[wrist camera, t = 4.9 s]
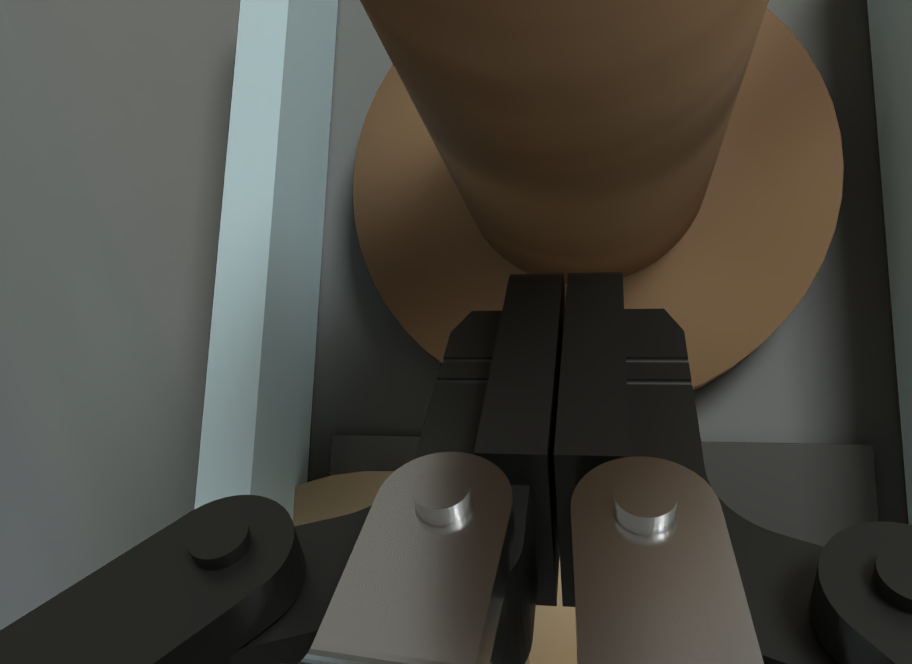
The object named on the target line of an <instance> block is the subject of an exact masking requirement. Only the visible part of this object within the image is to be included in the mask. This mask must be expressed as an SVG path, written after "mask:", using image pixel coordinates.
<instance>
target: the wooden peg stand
mask: <svg viewBox="0 0 912 664" xmlns="http://www.w3.org/2000/svg"><path fill="white" fill-rule="evenodd" d="M360 1H361V3H362V5H363V7H364V9H365V11H366V13H367V15H368V17H369V18H370V20H371V22H372V24H373V26H374V28H375V30H376V32H377V34H378V36H379V38H380V40H381V42H382V44H383V45H384V47H385V49H386V51H387V53H388V55H389V57H390V59H391V61H392V63H393V65H392V67H391V68H390V70H389V72H388V73H387V75H386V77H385V78H384V80H383V82H382V84H381V85H380V87H379V89H378V90H377V93H376V95H375V97H374V100H373V102H372V104H371V106H370V109H369V111H368V113H367V115H366V119H365V122H364V125H363V129H362V132H361V135H360V138H359V142H358V147H357V153H356V159H355V165H354V176H353V206H354V216H355V226H356V230H357V235H358V239H359V243H360V247H361V251H362V255H363V257H364V260H365V263H366V265H367V268H368V270H369V273H370V275H371V278H372V281H373V282H374V284H375V286H376V288H377V290H378V291H379V293H380V295H381V297H382V298H383V300H384V302H385V304H386V306H387V307H388V308H389V310H390V311H391V312H392V314H393V315H394V316H395V318H396V319H397V320H398V322H399V323H400V324H401V326H402V327H403V328H404V329H405V330H406V331H407V332H408V333H409V334H410V335H411V336H412V337H413V338H414V339H415V341H416V342H417V343H418V344H419V345H420V346H421V347H422V348H423V349H424V350H425V351H427V352H428V353H429V354H431V355H432V356H433V357H435V358H436V359H437V360H439V361H440V362H441V363H442V362H443V357H444V353H445V350H446V346H447V343H448V339H449V336H450V333H451V331H452V330H453V329H454V328H455V327H456V326H457V325H458V324H459V323H460V322H461V321H462V320H463V319H464V318H465V317H466V316H467V315H468V314H469V313H470V312H471V311H501V310H502V309H503V304H504V299H505V294H506V289H507V284H508V279H509V276H510V275H511V274H556V273H563V274H564V279H565V296H566V290H567V277H568V273H595V272H623V293H624V309H661V308H664V309H665V310H666V311H667V312H668V313H669V315H670V316H671V317H672V318H673V319H674V320H675V321H676V322H677V323H678V325H679V326H680V327H681V328H682V329H683V330H684V333H685V340H686V346H687V353H688V363H689V366H690V373H691V384H692V386H693V391H695V390H698V389H700V388H701V387H703V386H705V385H706V384H708V383H710V382H712V381H713V380H715V379H717V378H718V377H720V376H722V375H723V374H725V373H727V372H728V371H729V370H731V369H732V368H733V367H734V366H736V365H737V364H738V363H740V362H741V361H742V360H743V359H745V358H746V357H747V356H749V355H750V354H751V353H752V352H753V351H754V350H756V349H757V348H758V347H759V346H760V345H761V344H762V343H763V342H764V341H765V340H766V339H767V338H768V337H769V336H770V335H771V334H772V333H773V332H774V331H775V330H776V329H777V328H778V327H779V326H780V325H781V324H782V323H783V322H784V321H785V320H786V319H787V318H788V316H789V315H790V314H791V312H792V311H793V310H794V308H795V307H796V306H797V304H798V303H799V301H800V300H801V299H802V297H803V296H804V295H805V293H806V292H807V291H808V289H809V287H810V285H811V284H812V282H813V280H814V278H815V276H816V274H817V272H818V271H819V269H820V267H821V265H822V263H823V261H824V259H825V256H826V254H827V251H828V248H829V245H830V243H831V240H832V237H833V234H834V232H835V229H836V224H837V219H838V214H839V209H840V205H841V200H842V188H843V170H844V163H843V152H842V142H841V133H840V129H839V125H838V121H837V117H836V113H835V109H834V105H833V102H832V100H831V97H830V95H829V93H828V90H827V88H826V85H825V83H824V81H823V78H822V76H821V74H820V72H819V71H818V69H817V67H816V66H815V64H814V62H813V61H812V59H811V57H810V56H809V54H808V52H807V51H806V49H805V48H804V47H803V45H802V44H801V43H800V42H799V41H798V39H797V38H796V37H795V36H794V34H793V33H792V32H791V31H790V30H789V28H788V27H787V26H786V25H785V24H784V23H783V22H782V21H781V20H780V19H779V18H778V17H776V16H775V15H774V14H773V13H772V12H771V11H770V10H769V9H768V8H767V5H768V2H769V0H360Z"/></svg>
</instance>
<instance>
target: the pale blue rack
mask: <svg viewBox="0 0 912 664" xmlns="http://www.w3.org/2000/svg"><path fill="white" fill-rule="evenodd" d="M867 7H868V20H869V33H870V45H871V58H872V70H873V83H874V95H875V108H876V120H877V133H878V146H879V158H880V171H881V183H882V196H883V208H884V221H885V233H886V246H887V258H888V271H889V284H890V296H891V309H892V321H893V334H894V346H895V359H896V371H897V384H898V396H899V409H900V422H901V434H902V447H903V459H904V472H905V484H906V497H907V509H908V522H909V525H912V0H867ZM337 10H338V0H241V3H240V14H239V25H238V36H237V47H236V58H235V69H234V80H233V91H232V102H231V113H230V124H229V135H228V146H227V157H226V168H225V179H224V190H223V201H222V212H221V223H220V234H219V245H218V256H217V267H216V278H215V289H214V300H213V311H212V322H211V333H210V344H209V355H208V366H207V377H206V388H205V399H204V410H203V421H202V432H201V443H200V454H199V465H198V476H197V487H196V498H195V509H197V508H198V507H200V506H202V505H205V504H207V503H209V502H212V501H214V500H218V499H221V498H224V497H230V496H235V495H258V496H262V497H266V498H269V499H272V500H274V501H276V502H278V503H279V504H280V505H282V506H283V507H284V508H285V509H286V510H287V512H288V513H289V514H290V516H291V519H292V521H293V509H294V494H295V486H297V485H300V484H303V483H306V482H307V476H308V460H309V445H310V429H311V414H312V398H313V383H314V367H315V352H316V336H317V321H318V305H319V290H320V274H321V259H322V243H323V228H324V212H325V197H326V181H327V165H328V150H329V134H330V119H331V103H332V88H333V72H334V57H335V41H336V26H337ZM419 439H420V436H373V435H332V440H331V457H330V474H329V476H332V475H339V474H347V473H354V472H361V471H395V470H397V469H398V468H400V467H401V466H403V465H404V464H406V463H408V462H410V461H412V460H414V457H415V453H416V450H417V446H418V443H419ZM701 446H702V452H703V459H704V466H705V471H706V475H707V479H708V481H709V483H710V485H711V487H712V489H713V490H714V491H715V493H716V494H717V495H718V497H719V498H720V499H721V500H722V501H723V502H724V503H725V504H726V505H727V506H728V507H729V508H730V509H732V510H733V511H734V512H736V513H737V514H738V515H740V516H741V517H743V518H745V519H746V520H748V521H750V522H751V523H753V524H756V525H758V526H760V527H762V528H764V529H767V530H770V531H773V532H776V533H779V534H782V535H785V536H789V537H792V538H796V539H799V540H803V541H806V542H809V543H813V544H816V545H820V546H823V547H824V546H825V545H826V543H827V542H828V541H829V539H830V538H832V537H833V536H834V535H835V534H837V533H838V532H840V531H842V530H844V529H846V528H848V527H850V526H854V525H857V524H861V523H868V522H879V516H878V503H877V489H876V475H875V461H874V447H873V445H854V444H801V443H747V442H701ZM195 509H194V510H195Z"/></svg>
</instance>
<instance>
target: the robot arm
mask: <svg viewBox="0 0 912 664" xmlns="http://www.w3.org/2000/svg"><path fill="white" fill-rule="evenodd" d="M559 558H560V570H561V587H562V604H563V606H564V607H575V616H576V639H577V664H912V525H909V524H905V523H897V522H868V523H861V524H857V525H854V526H850V527H848V528H846V529H844V530H842V531H840V532H838V533H837V534H835V535H834V536H833V537H832V538H830V539H829V541H828V542H827V543H826V545H825V546H824V547H823V546H820V545H816V544H813V543H809V542H806V541H803V540H799V539H796V538H792V537H789V536H785V535H782V534H779V533H776V532H773V531H770V530H767V529H764V528H762V527H760V526H758V525H756V524H753V523H751V522H750V521H748V520H746V519H745V518H743V517H741V516H740V515H738V514H737V513H736V512H734V511H733V510H732V509H730V508H729V507H728V506H727V505H726V504H725V503H724V502H723V501H722V500H721V499H720V498H719V497H718V495H717V494H716V493H715V491H714V490H713V489H712V487H711V485H710V483H709V481H708V479H707V475H706V471H705V466H704V459H703V452H702V446H701V439H700V433H699V426H698V419H697V413H696V406H695V399H694V393H693V386H692V384H691V373H690V366H689V363H688V353H687V346H686V340H685V333H684V330H683V329H682V328H681V327H680V326H679V325H678V323H677V322H676V321H675V320H674V319H673V318H672V317H671V316H670V315H669V313H668V312H667V311H666V310H665V309H664V308H661V309H624V293H623V272H595V273H568V277H567V290H566V296H565V279H564V274H563V273H556V274H511V275H510V276H509V279H508V284H507V289H506V294H505V299H504V304H503V309H502V310H501V311H471V312H470V313H469V314H468V315H467V316H466V317H465V318H464V319H463V320H462V321H461V322H460V323H459V324H458V325H457V326H456V327H455V328H454V329H453V330H452V331H451V333H450V336H449V339H448V343H447V346H446V350H445V353H444V357H443V362H442V364H441V367H440V371H439V374H438V377H437V383H436V384H435V388H434V391H433V395H432V398H431V402H430V405H429V408H428V412H427V415H426V419H425V422H424V426H423V429H422V433H421V436H420V439H419V443H418V446H417V450H416V453H415V457H414V460H412V461H410V462H408V463H406V464H404V465H403V466H401V467H400V468H398V469H397V470H395V471H394V472H393V473H392V474H391V475H390V476H389V477H388V478H387V479H386V480H385V481H384V483H383V484H382V485H381V487H380V489H379V491H378V493H377V495H376V497H375V499H374V502H373V504H372V505H371V506H369V507H367V508H365V509H362V510H360V511H357V512H354V513H351V514H347V515H343V516H339V517H335V518H330V519H326V520H321V521H317V522H312V523H308V524H303V525H299V526H294V523H293V521H292V519H291V516H290V514H289V513H288V512H287V510H286V509H285V508H284V507H283V506H282V505H280V504H279V503H278V502H276V501H274V500H272V499H269V498H266V497H262V496H258V495H235V496H230V497H224V498H221V499H218V500H214V501H212V502H209V503H207V504H205V505H202V506H200V507H198V508H197V509H195V510H193V511H191V512H189V513H188V514H186V515H185V516H183V517H181V518H180V519H178V520H177V521H175V522H173V523H172V524H170V525H169V526H167V527H165V528H164V529H162V530H161V531H159V532H157V533H156V534H154V535H153V536H151V537H149V538H148V539H146V540H145V541H143V542H141V543H140V544H138V545H137V546H135V547H133V548H132V549H130V550H129V551H127V552H125V553H124V554H122V555H121V556H119V557H117V558H116V559H114V560H113V561H111V562H109V563H108V564H106V565H105V566H103V567H101V568H100V569H98V570H97V571H95V572H93V573H92V574H90V575H89V576H87V577H85V578H84V579H82V580H81V581H79V582H77V583H76V584H74V585H73V586H71V587H69V588H68V589H66V590H65V591H63V592H61V593H60V594H58V595H57V596H55V597H53V598H52V599H50V600H49V601H47V602H45V603H44V604H42V605H41V606H39V607H37V608H36V609H34V610H33V611H31V612H29V613H28V614H26V615H25V616H23V617H21V618H20V619H18V620H17V621H15V622H13V623H12V624H10V625H9V626H7V627H5V628H4V629H2V630H1V631H0V664H530V660H529V654H530V651H531V647H532V642H533V632H534V620H535V608H536V605H542V606H557V592H558V575H559Z"/></svg>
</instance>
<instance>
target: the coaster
mask: <svg viewBox="0 0 912 664" xmlns="http://www.w3.org/2000/svg"><path fill="white" fill-rule="evenodd" d="M393 472H394V471H361V472H354V473H347V474H339V475H332V476H328V477H324V478H321V479H317V480H314V481H310V482H306V483H303V484H300V485H297V486H295V494H294V509H293V523H294V526H299V525H303V524H308V523H312V522H317V521H321V520H326V519H330V518H335V517H339V516H343V515H347V514H351V513H354V512H357V511H360V510H362V509H365V508H367V507H369V506H371V505H372V504H373V502H374V499H375V497H376V495H377V493H378V491H379V489H380V487H381V485H382V484H383V483H384V481H385V480H386V479H387V478H388V477H389V476H390V475H391V474H392V473H393ZM529 660H530V664H577V639H576V616H575V607H564V606H563V604H562V587H561V570H560V558H559V575H558V592H557V606H542V605H536V608H535V620H534V632H533V642H532V647H531V651H530V654H529Z"/></svg>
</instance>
